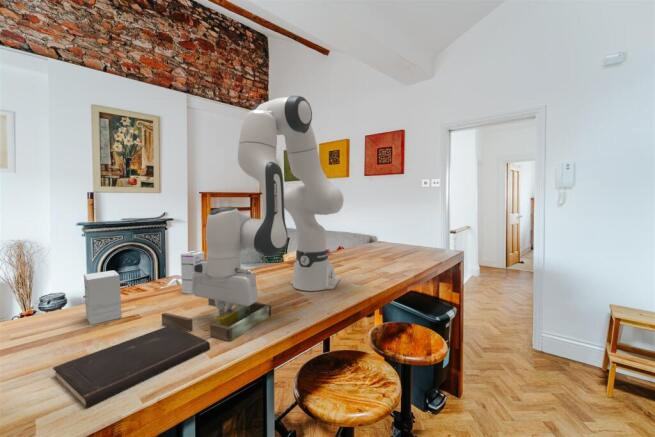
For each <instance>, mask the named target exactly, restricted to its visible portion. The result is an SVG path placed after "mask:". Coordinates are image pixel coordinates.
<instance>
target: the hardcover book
mask: <svg viewBox="0 0 655 437" xmlns="http://www.w3.org/2000/svg"><path fill="white" fill-rule="evenodd" d="M210 349H211V344H210V341H208V340H207V339H204V338H201V337H200V336H197V335H195V334H193V333H190V332H189V331H185V330H181V329H179V328H177V327H175V326H172V325H170V326H164V327H161V328H159V329H157V330H153V331H151V332H147V333H145V334H142V335H139V336H136V337H133V338H131V339H128V340H125V341H122V342H120V343H117V344H114V345H112V346H108V347H106V348H103V349H100V350H97V351H94V352H92V353H90V354H86V355H84V356H81V357H77V358H75V359H73V360H70V361H67V362H64V363H62V364H59V365H57V366H53V367H52V369H53V371H54V375H55V378H57V379H58V380H59V381H60V382H61V383H62V384H63V385H64V386H65V387H66V388H67V389H68V390H69V391H70V392H71V393H72V394H73V395H74V396H75V397H76V398H77V399H78V401H79V400H80V402H81V403H82V404H83V405H84V406H85V409H89V408H91V407H93V406H95V405H97V404H99V403H101V402H103V401H107V399H110V398H112V397H113V396H116V395H119V394H120V393H122V392H124V391H126V390H128V389H130V388H133V387H134V386H136V385H138V384H140V383H143V382H145V381H146V380H149V379H151V378H153V377H156V376H158V375H159V374H161V373H164V372H166V371H167V370H169V369H172V368H174V367H176V366H178V365H180V364H182V363H184V362H186V361H189V360H191V359H193V358H195V357H197V356H199V355H201V354H203V353H205V352H208V351H209V350H210Z"/></svg>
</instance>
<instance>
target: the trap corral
mask: <svg viewBox="0 0 655 437" xmlns="http://www.w3.org/2000/svg"><path fill="white" fill-rule="evenodd" d="M223 305H224V306H226V305H225V302H223ZM208 306H213V307H216V305H215V300H213V299H208ZM271 316H272V305H271V304H266V303H262V302H261V303H260V302H255V303H254V304H252V305H251V315H249V316H247V317H246V318H244V319H242V320H240V321H239V322H237V323H235V324H233V325H232V326H230V327H227V326H222V325H218V324H215V323H210V325H209V329H210V331H209V334H210V335H209V336H210V338H214V339H217V340H222V341H225V342H230V343H231V341H233V340H234V339H236V338H237V337H239V336H240V335H242V334H244V333H245V332H247V331H249V330H250V329H251V328H253V327H255V326H256V325H258V324H259V323H261V322H263V321H264V320H266V319H268V318H269V317H271ZM161 325H162V326H164V327H167V326H170V325H172V326H175V327H177V328H179V329H181V330H184V331H186V332H188V333H190V332H191V331H193V330H194V329H193V318H191V317H186V316H182V315H177V314H172V313H169V312H162V313H161Z"/></svg>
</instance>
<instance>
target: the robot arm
mask: <svg viewBox="0 0 655 437" xmlns="http://www.w3.org/2000/svg"><path fill="white" fill-rule="evenodd" d="M312 110H313V109H312V107H311V105H310V103H309V101H308V100H307V99H306V97H304V96H302V95H301V96H300V95H290V96H287V97H286V96H284V97H277V98H274V99H270V100H268V101H265V102H260V103H257V104H256V105H254V106H253V107H252V108H251V109H250V111H248V112H247V113H246V114H245V116H244V119H243V122H242V126H241V129H240V133H239V139H238V148H237V161H238V165H239V167H240V168H241V170H242V171H243V172H244V173H245V174H246V175H247V176H248V177H251V178H253V179H254V180H256V181H257V182H258V183H259V184H260V186H261V188H262V189H261V190H262V211H263V212H262V213H263V215H262V218H254V217H250V216H248V215H246V214H243V213H242V212H241V211H240V210H238V208H237V207H235V206H225V207H222V206H221V207H217V208H214V209H212V210H211V211H210V212H209V213H208V215H207V217H206V218H207V219H206V224H205V241H206V245H207V251H206V257H205V258H206V260H204V262H200V263H197V264H194V265H193V266H192V271H193V272H195V273H194V274H193V276H192V291H193V294H192V295H194V296H195V297H196V298H197V297H198V298H203V299H213V300H215V305H216V306H215V307H216V309H217V312H218V316H219V315H221V314H223V313H225V312H227V311H229V310H231V309H232V308H234V307H233V306H234V304H235V305H244V306H250V305H252V304H254V303H257V301H258V287H257V282H256V280H257V279H256V278H257V277H256V275H255V273H254V272H252V270H251V269H244V268H242V266H241V262H242V259H241V258H242V256H241V251H242V250H243V251H244V250H245V251H247V252H253V253H258V254H261V255H264V256H267V257H274V256H277V255H278V254H280V252H281V251H282V250H284V248H285V246H286V245H287V243H288V238H289V237H288V236H289V235H288V230H287V226H286V225H287V224H286V218H285V216H286V215H285V211H286V212H288V214H289V215H290V216H291V218H292V220H293V222H294V225H295V228H296V229H295V230H296V241H297V242H296V243H297V244H296V245H297V249H296V251H295V252H296V253H295V257H296V259H295V260H296V261H295V262H294V263H293V269H292V270H293V271H292V279H291V280H289V283H290V285H292V286H293V288H294V289H297V290H301V291H308V292H309V291H310V292H313V291H314V292H315V291H323V290H334V289H335V288H336V286H337V284H338V283H339V281H341V280H340V278H341V277H340V276H338V275H335V266H334V265H333V264H332V262H331V261H330V260H329V255H330V250H331V249H329V248H327V232H326V231H327V230H326V229H325V228H324V226H323V225H321V224H320V223H318V221H317V219H316V217H315V215H319V216H322V215H323V216H327V215H333V214H337V213H339V212H340V211H341V209H342V208H343V205H344V196H343V192H342V191H341V190H340V188H339V187H337V186H336V185H334V184H333V183H332V182H331V181H330V180H329V179H328V177H327V176H326V173H325V172H324V170H323V167H322V165H321V160H320V155H319V150H318V146H317V140H316V136H315V133H314V130H313V127H312V125H311V123H312V120H313V111H312ZM282 135H283V137H284V142H285V149H286V154H287V158H288V163H289V169H290V172H291V174H292V176H294V177H295V178H296V179H299V181H301V182H302V183H303V185H295V186H291V187H289V188H286V189H285V190H284V178H283V177H284V176H283V171H282V168H281V167H280V165H279V164H278V162H277V146H278V136H282ZM223 302H225V305H223Z"/></svg>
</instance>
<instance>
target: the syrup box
mask: <svg viewBox="0 0 655 437" xmlns="http://www.w3.org/2000/svg"><path fill="white" fill-rule="evenodd" d="M204 261H205V251H203V250H191V251H188V252H184V253H181V254H180V276H181V292H182V294H189V295H194V294H193V291H192V276H193V274H194V273H195V272H193V271H192V266H193V265H194V264H197V263H200V262H204Z"/></svg>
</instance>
